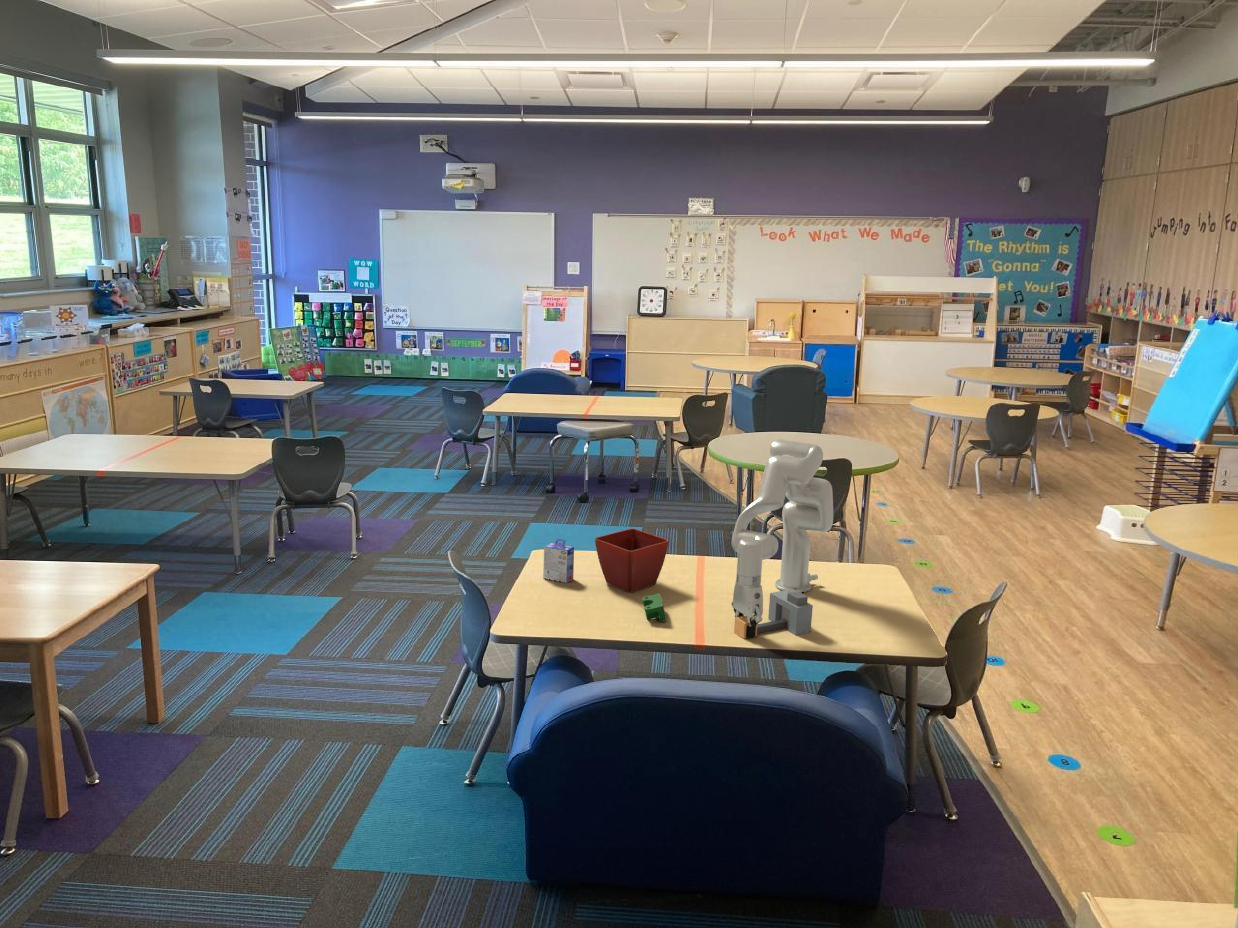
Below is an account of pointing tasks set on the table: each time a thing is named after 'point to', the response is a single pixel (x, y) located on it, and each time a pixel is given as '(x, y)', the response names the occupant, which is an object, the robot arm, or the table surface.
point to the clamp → (654, 607)
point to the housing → (792, 610)
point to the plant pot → (631, 558)
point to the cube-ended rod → (742, 624)
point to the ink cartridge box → (558, 562)
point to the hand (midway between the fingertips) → (745, 633)
